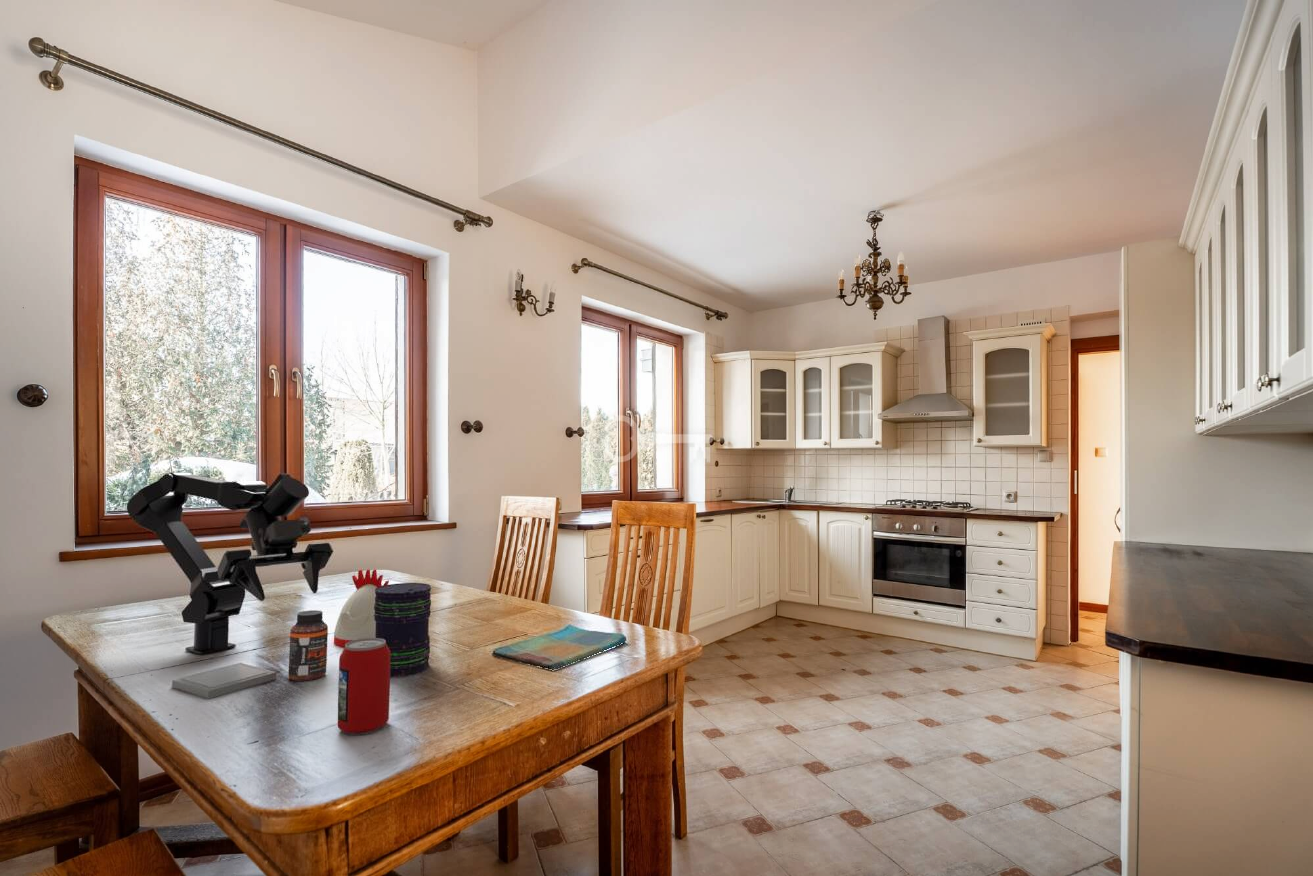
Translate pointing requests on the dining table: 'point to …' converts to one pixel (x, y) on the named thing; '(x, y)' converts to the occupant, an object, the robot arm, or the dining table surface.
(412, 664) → the dark blue cylinder
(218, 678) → the plate
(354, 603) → the kitchen timer
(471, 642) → the dining table surface
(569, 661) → the dish towel
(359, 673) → the beverage can
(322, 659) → the supplement bottle
